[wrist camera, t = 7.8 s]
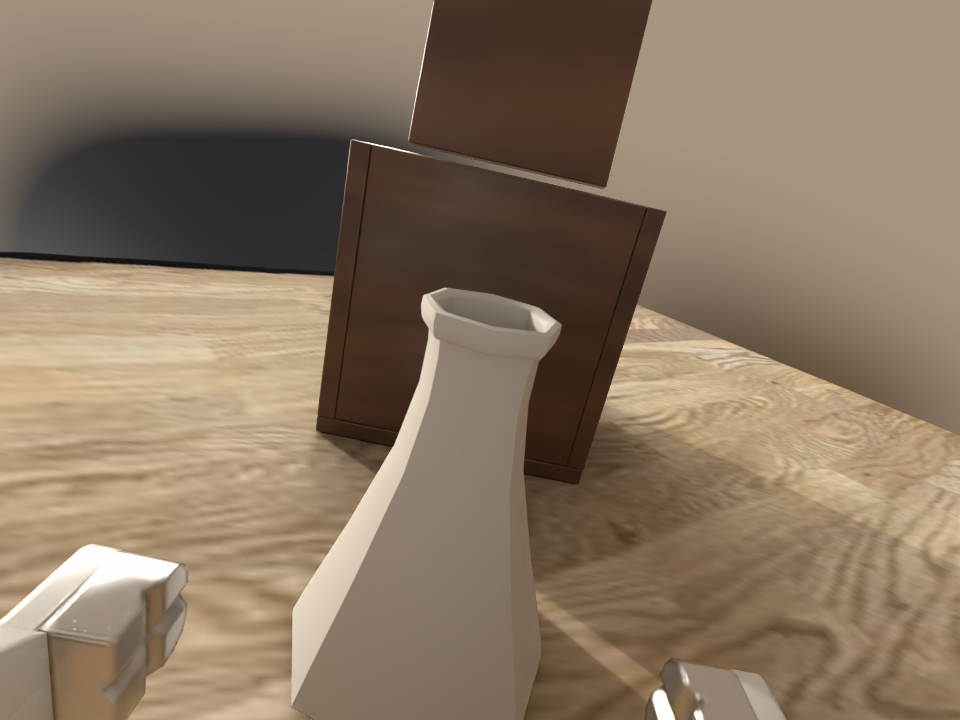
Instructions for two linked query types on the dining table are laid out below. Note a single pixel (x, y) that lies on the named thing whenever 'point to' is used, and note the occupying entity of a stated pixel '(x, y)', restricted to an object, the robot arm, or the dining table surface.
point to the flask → (437, 540)
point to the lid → (529, 83)
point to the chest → (478, 290)
